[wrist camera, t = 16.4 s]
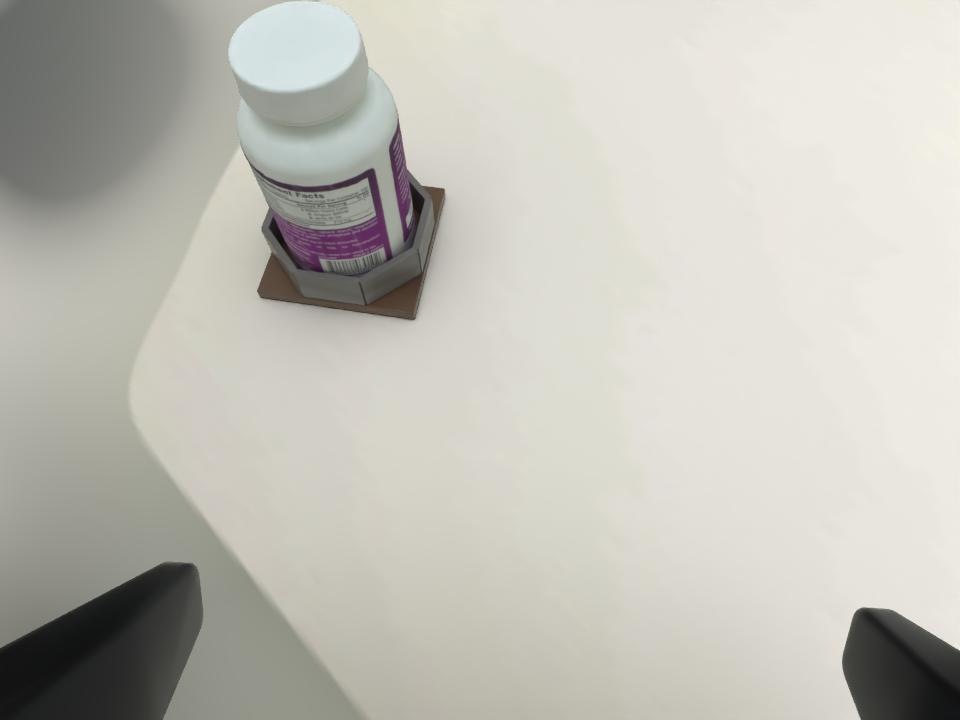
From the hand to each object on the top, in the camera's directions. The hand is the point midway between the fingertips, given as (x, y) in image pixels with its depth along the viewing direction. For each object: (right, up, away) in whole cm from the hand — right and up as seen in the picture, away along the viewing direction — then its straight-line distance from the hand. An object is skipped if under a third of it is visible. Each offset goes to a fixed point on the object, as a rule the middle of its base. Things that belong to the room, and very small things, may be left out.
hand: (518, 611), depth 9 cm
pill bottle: (-6, +8, +19) cm, 22 cm away
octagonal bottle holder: (-6, +8, +20) cm, 22 cm away
